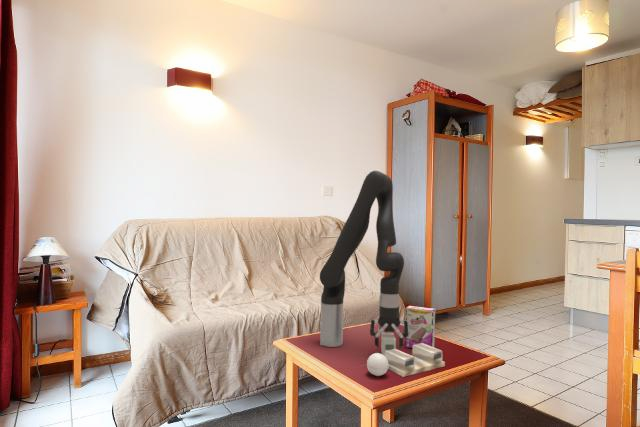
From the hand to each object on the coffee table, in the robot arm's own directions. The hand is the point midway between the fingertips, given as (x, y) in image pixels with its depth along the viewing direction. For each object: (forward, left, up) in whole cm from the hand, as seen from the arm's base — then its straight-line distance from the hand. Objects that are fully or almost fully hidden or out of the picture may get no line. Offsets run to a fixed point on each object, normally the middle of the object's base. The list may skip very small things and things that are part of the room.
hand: (388, 346), depth 159 cm
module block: (0, 0, -4) cm, 4 cm away
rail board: (+8, -9, -4) cm, 13 cm away
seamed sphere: (-7, -19, -4) cm, 20 cm away
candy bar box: (+14, +11, -4) cm, 18 cm away
